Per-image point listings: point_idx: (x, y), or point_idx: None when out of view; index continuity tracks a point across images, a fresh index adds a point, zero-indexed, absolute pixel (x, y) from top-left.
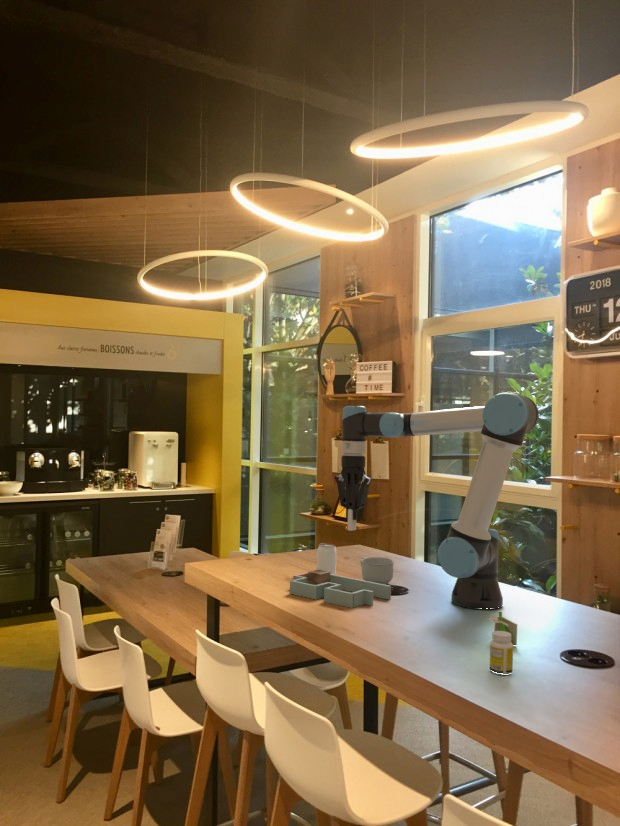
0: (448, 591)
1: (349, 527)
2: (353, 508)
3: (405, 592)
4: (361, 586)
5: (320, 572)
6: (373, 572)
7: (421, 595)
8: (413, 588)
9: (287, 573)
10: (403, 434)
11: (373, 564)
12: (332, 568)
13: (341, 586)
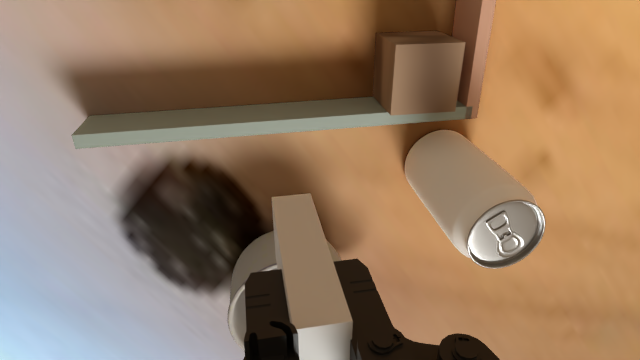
0: (68, 348)
1: (294, 207)
2: (256, 340)
3: (139, 242)
4: (222, 115)
5: (416, 73)
6: (268, 249)
7: (74, 252)
8: (164, 299)
9: (596, 142)
10: None
11: (269, 267)
12: (423, 180)
13: (320, 104)
